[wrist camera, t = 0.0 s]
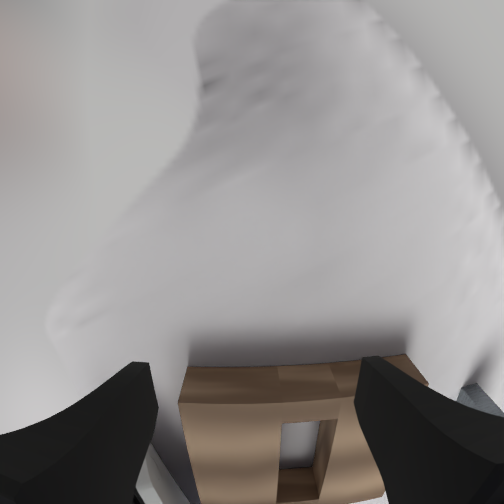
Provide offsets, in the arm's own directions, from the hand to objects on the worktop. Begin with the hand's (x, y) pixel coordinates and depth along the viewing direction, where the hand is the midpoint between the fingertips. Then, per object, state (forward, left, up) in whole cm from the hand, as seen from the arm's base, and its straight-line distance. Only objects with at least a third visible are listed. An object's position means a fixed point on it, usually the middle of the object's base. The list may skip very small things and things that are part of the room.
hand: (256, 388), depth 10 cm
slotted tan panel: (-13, -3, -10) cm, 17 cm away
